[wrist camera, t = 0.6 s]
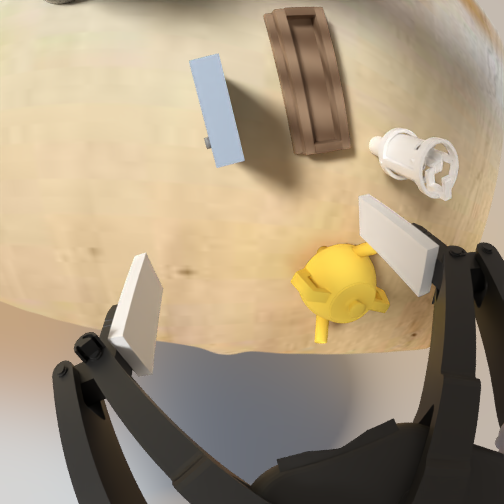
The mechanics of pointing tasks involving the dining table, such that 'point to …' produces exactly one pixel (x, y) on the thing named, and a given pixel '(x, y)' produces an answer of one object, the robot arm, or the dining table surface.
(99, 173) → the dining table surface
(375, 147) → the strainer
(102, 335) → the robot arm
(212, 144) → the door panel
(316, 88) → the track
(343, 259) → the teapot
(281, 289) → the dining table surface
